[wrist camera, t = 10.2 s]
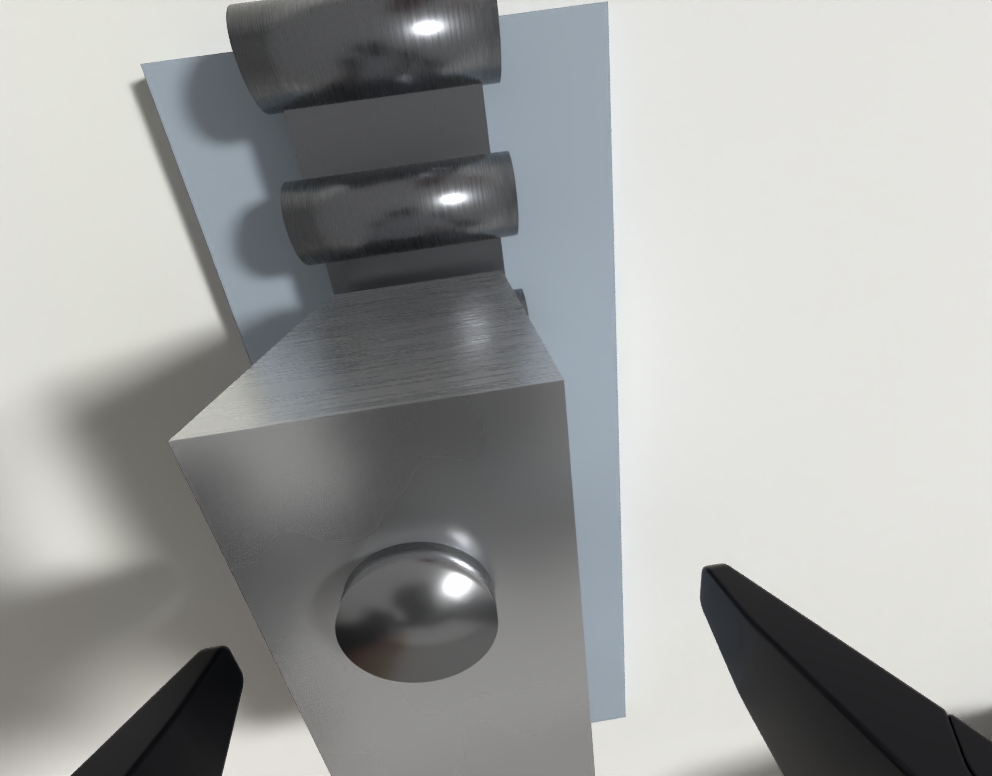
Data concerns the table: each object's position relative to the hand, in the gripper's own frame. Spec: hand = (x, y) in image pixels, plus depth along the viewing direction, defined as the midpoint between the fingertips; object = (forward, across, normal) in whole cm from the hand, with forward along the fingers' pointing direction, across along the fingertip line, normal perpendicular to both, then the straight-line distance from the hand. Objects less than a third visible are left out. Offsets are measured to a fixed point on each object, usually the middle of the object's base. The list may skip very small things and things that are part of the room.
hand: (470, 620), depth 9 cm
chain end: (+4, 0, -6) cm, 7 cm away
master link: (+2, 0, 0) cm, 2 cm away
